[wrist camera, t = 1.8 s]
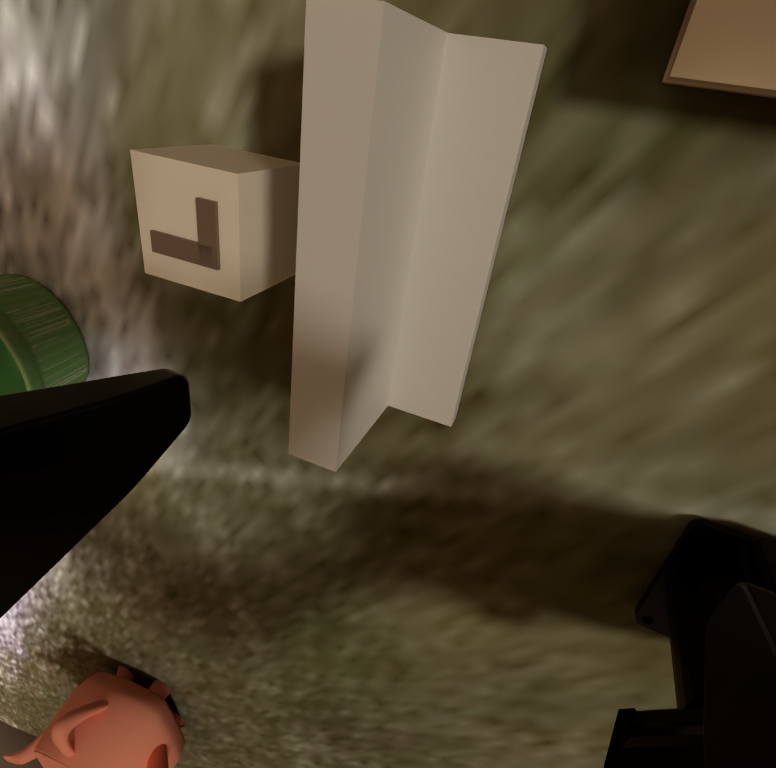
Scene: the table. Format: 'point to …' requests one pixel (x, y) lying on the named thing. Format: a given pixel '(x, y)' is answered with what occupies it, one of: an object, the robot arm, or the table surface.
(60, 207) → the table surface
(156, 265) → the letter block
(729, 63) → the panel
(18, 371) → the ramekin
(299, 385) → the grey screen
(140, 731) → the pink rounded piece
